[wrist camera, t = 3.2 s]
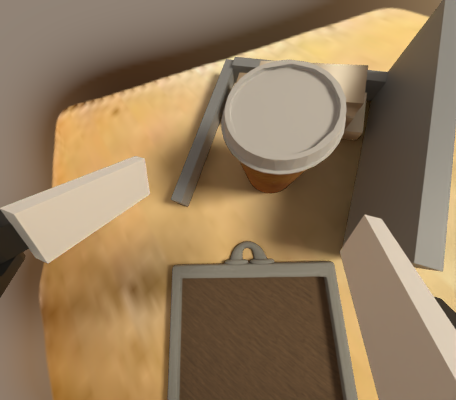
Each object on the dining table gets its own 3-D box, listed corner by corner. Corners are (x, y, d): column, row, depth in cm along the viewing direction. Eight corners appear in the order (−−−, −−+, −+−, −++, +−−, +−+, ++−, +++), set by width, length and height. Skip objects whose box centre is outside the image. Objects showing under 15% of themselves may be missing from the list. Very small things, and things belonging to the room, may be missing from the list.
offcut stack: (358, 104, 25) (389, 62, 19) (354, 141, 24) (384, 109, 18) (235, 93, 29) (230, 56, 23) (226, 125, 28) (219, 94, 22)
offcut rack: (384, 93, 25) (467, -4, 15) (355, 258, 20) (443, 271, 11) (228, 74, 30) (215, -8, 20) (178, 203, 25) (131, 179, 16)
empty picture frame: (159, 594, 16) (172, 244, 23) (168, 563, 17) (177, 244, 25) (403, 656, 13) (330, 237, 20) (388, 612, 15) (325, 238, 22)
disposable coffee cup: (318, 154, 24) (374, 71, 12) (288, 217, 23) (322, 189, 11) (253, 131, 26) (251, 43, 15) (223, 187, 25) (196, 138, 13)
